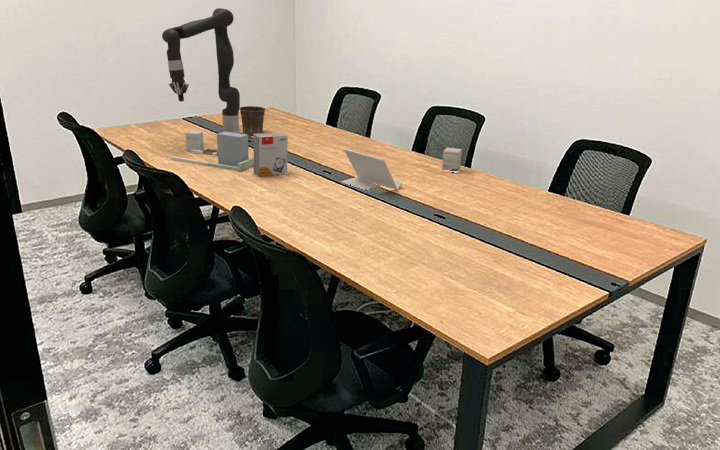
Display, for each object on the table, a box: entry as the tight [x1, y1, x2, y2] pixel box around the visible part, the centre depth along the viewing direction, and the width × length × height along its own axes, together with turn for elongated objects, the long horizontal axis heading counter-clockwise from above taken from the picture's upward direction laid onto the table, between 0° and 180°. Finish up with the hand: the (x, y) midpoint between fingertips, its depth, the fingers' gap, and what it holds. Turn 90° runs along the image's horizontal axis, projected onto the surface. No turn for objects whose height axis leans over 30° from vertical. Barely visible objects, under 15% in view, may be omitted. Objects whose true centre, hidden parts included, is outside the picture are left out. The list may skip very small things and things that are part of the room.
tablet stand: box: [340, 148, 403, 191], centre depth 279 cm, size 18×25×17 cm
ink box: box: [441, 147, 463, 171], centre depth 309 cm, size 9×8×12 cm
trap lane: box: [169, 148, 254, 173], centre depth 311 cm, size 26×44×4 cm, turn 68°
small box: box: [185, 130, 205, 152], centre depth 327 cm, size 8×6×10 cm
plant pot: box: [239, 105, 266, 136], centre depth 370 cm, size 16×16×16 cm
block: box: [216, 131, 250, 167], centre depth 303 cm, size 7×14×16 cm, turn 68°
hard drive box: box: [252, 132, 289, 177], centre depth 290 cm, size 16×8×20 cm, turn 117°
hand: (181, 101), depth 318 cm, fingers closed
